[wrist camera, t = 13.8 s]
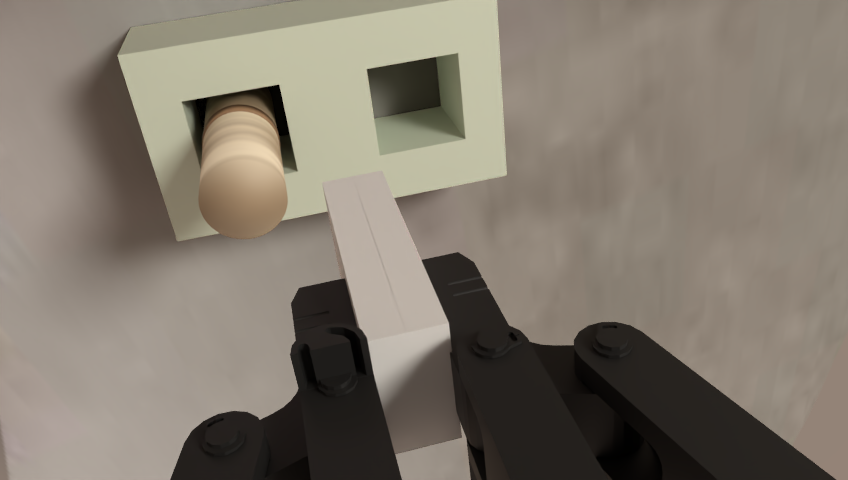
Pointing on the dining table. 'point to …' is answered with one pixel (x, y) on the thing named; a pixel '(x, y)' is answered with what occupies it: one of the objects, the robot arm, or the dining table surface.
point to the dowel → (242, 165)
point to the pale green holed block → (323, 94)
